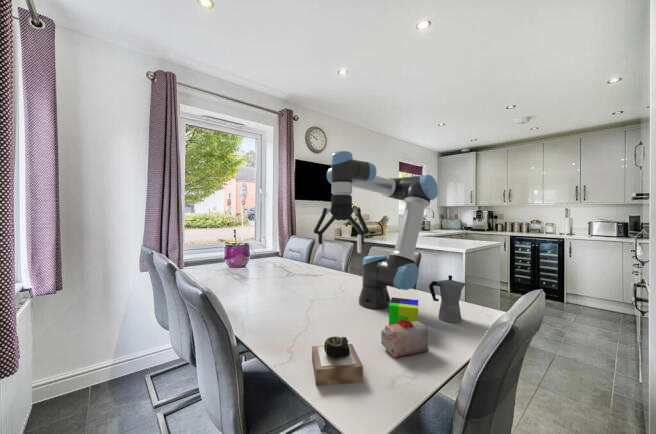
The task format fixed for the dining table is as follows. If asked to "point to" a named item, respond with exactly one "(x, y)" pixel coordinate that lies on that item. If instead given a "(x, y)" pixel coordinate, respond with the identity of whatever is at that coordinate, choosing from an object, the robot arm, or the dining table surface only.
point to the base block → (336, 367)
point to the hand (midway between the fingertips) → (341, 253)
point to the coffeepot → (448, 299)
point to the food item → (405, 338)
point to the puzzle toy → (403, 310)
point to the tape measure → (337, 347)
